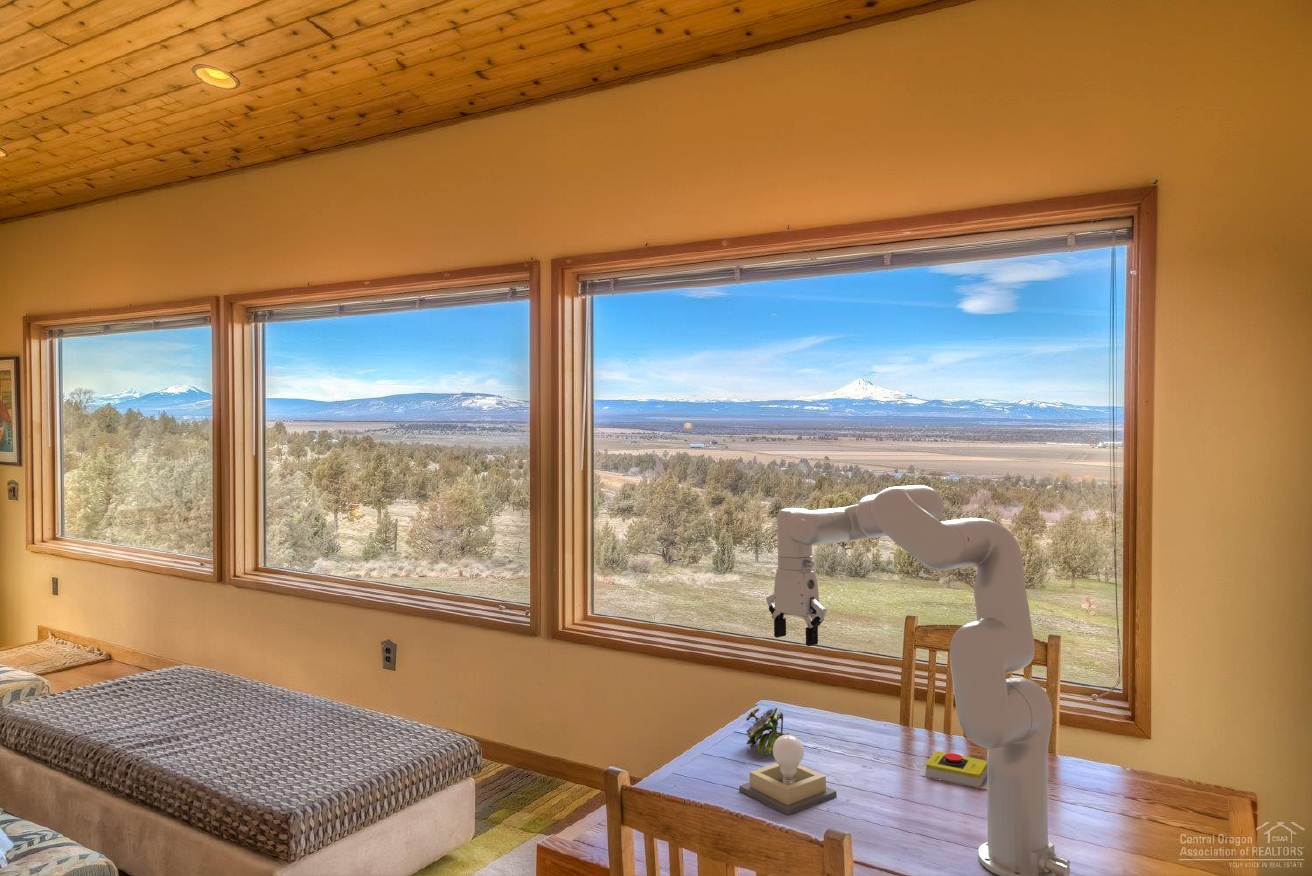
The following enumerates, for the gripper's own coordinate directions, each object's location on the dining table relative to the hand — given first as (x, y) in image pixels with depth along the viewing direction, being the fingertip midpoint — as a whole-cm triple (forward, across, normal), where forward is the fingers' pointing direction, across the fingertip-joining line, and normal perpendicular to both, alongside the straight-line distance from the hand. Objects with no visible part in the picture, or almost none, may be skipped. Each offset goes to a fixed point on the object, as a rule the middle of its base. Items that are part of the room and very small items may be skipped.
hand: (795, 640), depth 183 cm
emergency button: (+29, -24, -25) cm, 45 cm away
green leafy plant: (+29, +12, -3) cm, 31 cm away
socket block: (+28, -8, +11) cm, 31 cm away
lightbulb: (+28, -8, +11) cm, 31 cm away
